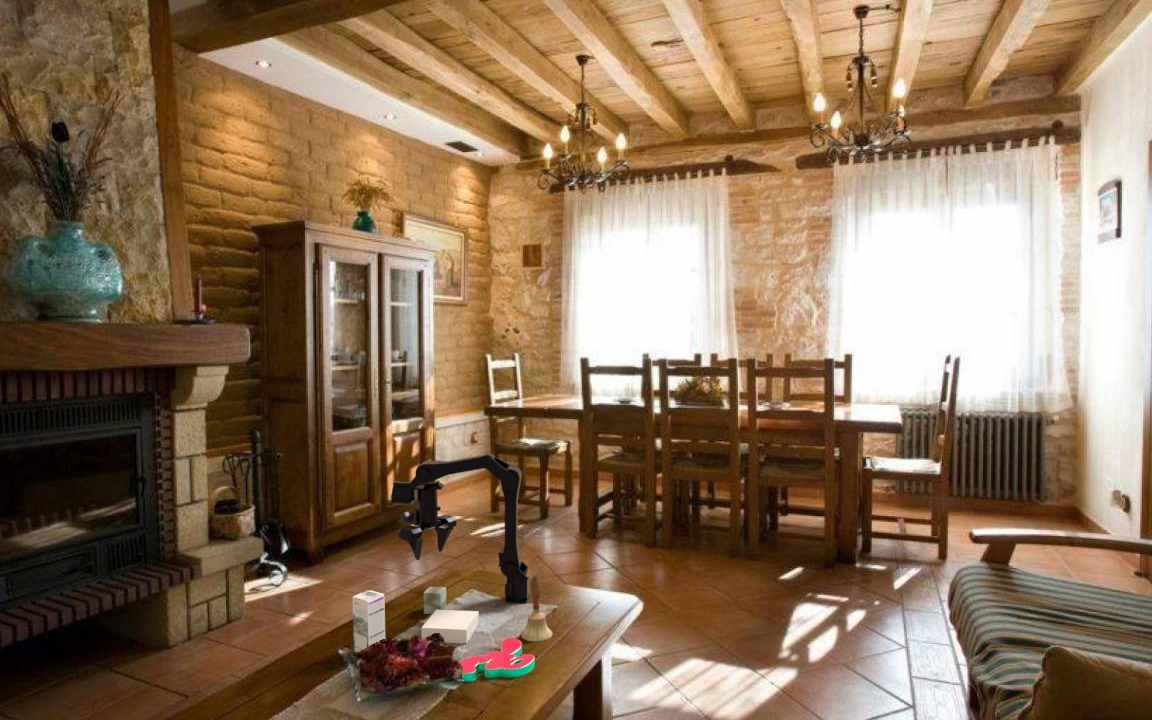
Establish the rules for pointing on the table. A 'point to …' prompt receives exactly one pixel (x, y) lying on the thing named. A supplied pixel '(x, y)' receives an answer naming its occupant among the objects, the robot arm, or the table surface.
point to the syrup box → (368, 619)
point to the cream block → (451, 625)
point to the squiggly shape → (499, 662)
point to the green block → (434, 599)
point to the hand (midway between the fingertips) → (429, 555)
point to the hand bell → (536, 618)
